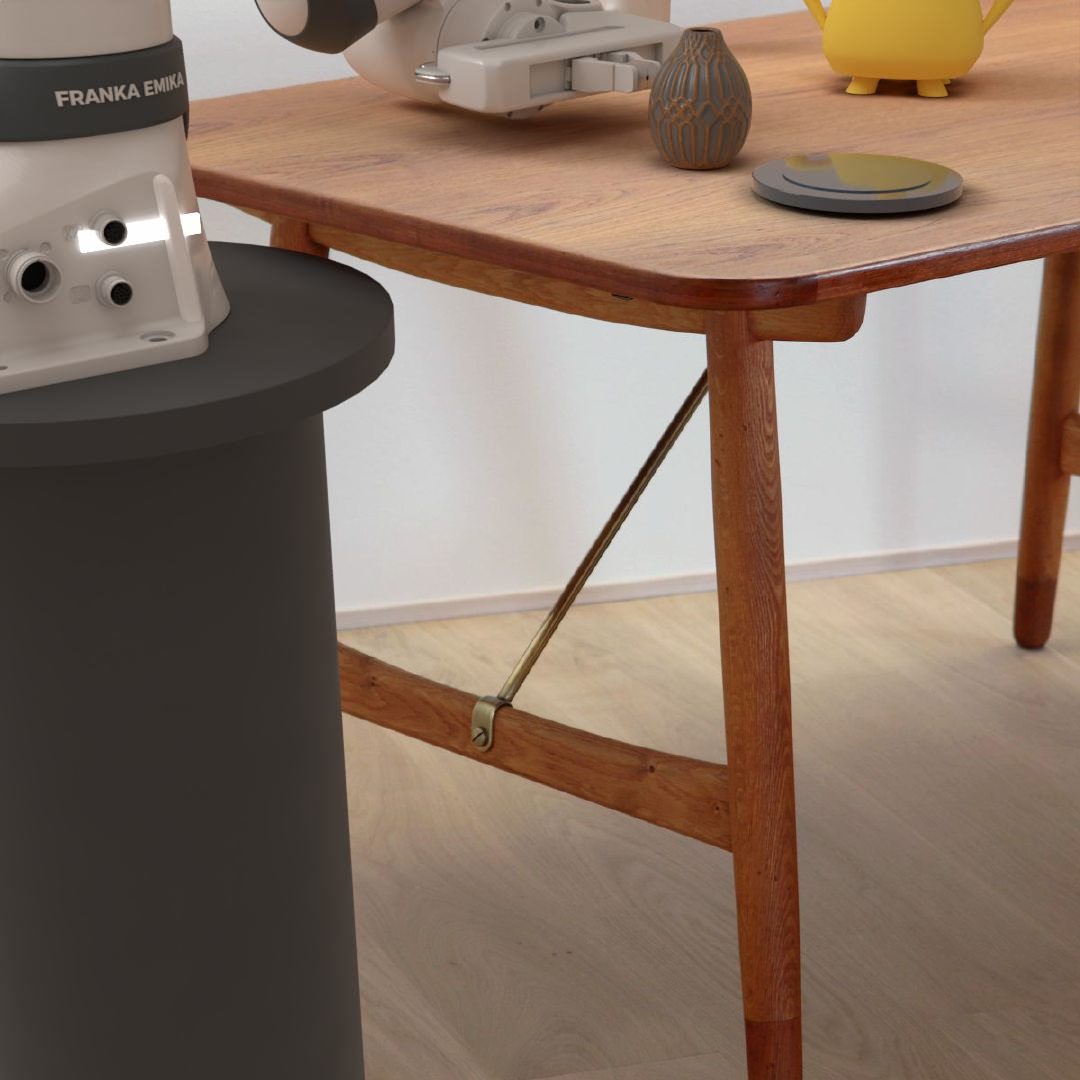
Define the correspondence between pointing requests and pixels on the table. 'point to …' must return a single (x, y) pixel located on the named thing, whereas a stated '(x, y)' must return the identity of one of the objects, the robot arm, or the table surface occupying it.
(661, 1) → the mug
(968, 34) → the teapot
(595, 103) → the table surface
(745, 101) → the vase
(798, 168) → the plate
